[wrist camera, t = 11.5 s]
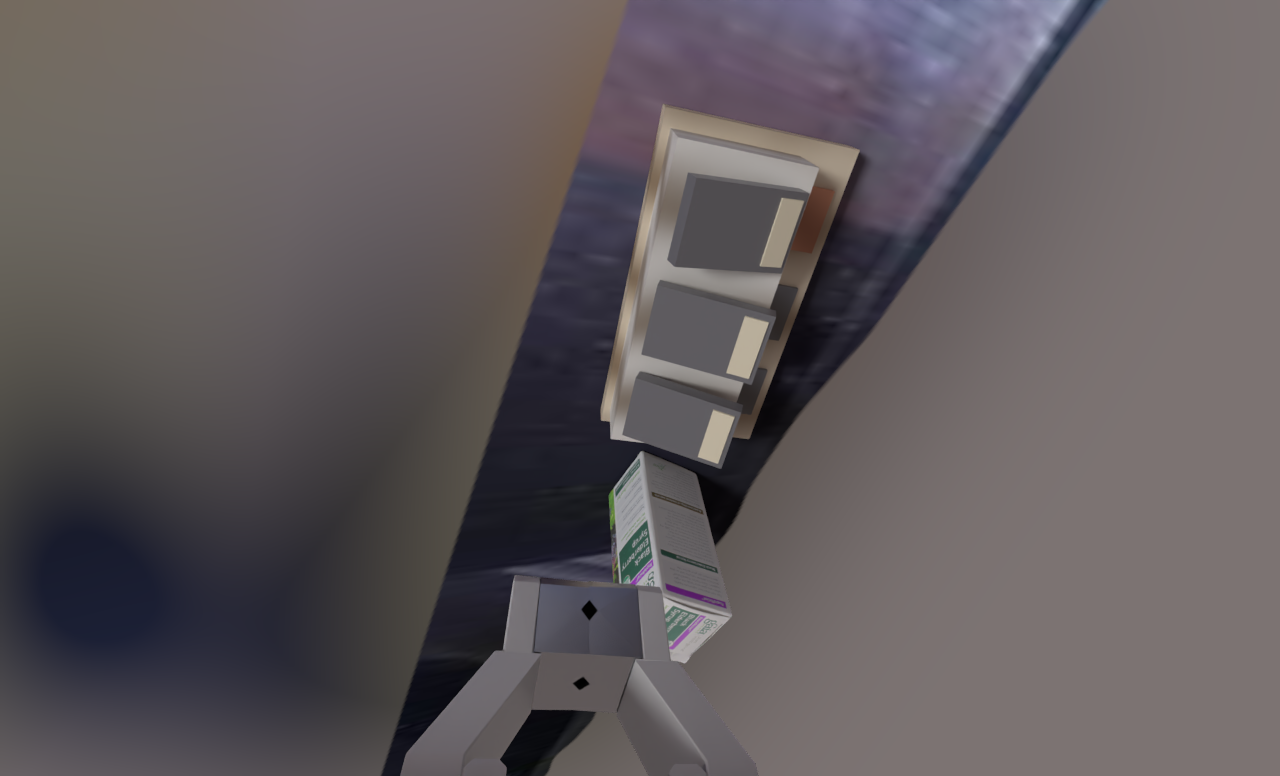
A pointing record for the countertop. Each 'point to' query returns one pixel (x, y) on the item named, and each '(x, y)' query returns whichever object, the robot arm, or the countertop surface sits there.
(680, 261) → the switch
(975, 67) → the countertop surface
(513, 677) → the robot arm
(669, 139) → the switch unit
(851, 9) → the countertop surface
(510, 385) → the countertop surface
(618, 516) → the syrup box
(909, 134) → the countertop surface
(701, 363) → the switch middle
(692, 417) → the switch
